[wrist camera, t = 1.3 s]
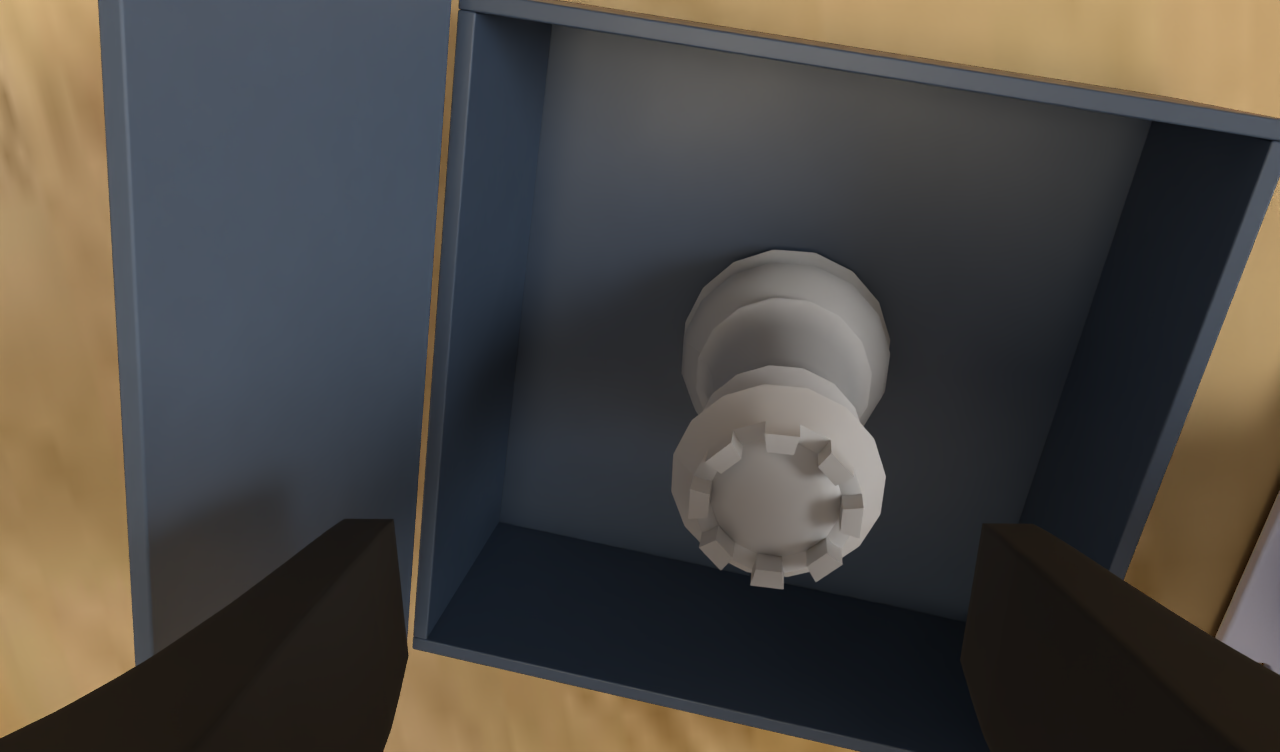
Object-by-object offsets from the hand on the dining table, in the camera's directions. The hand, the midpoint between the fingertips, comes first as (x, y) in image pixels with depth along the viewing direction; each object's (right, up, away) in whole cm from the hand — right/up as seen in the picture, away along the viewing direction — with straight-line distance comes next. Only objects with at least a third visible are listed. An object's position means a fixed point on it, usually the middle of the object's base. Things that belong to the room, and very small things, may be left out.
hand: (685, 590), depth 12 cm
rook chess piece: (+3, +3, +10) cm, 11 cm away
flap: (-5, +2, +2) cm, 6 cm away
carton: (+3, +3, +10) cm, 11 cm away
